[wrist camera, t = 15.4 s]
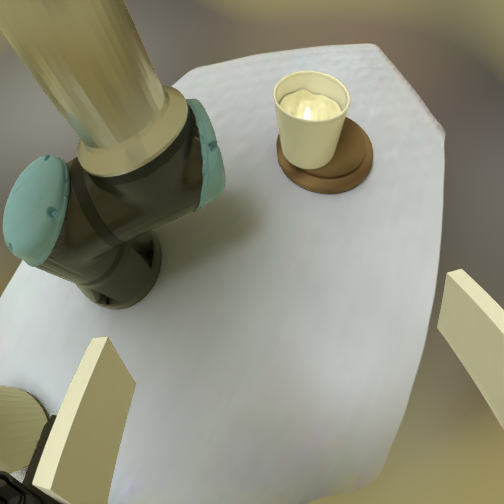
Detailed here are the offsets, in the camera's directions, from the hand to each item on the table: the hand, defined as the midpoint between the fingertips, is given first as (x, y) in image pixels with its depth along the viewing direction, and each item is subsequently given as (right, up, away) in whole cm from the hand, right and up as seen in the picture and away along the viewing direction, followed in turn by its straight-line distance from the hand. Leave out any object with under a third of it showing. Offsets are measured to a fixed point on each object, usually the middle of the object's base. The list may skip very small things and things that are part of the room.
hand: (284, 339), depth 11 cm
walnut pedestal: (+11, +20, +39) cm, 45 cm away
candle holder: (+8, +19, +36) cm, 42 cm away
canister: (-42, -29, +30) cm, 59 cm away
